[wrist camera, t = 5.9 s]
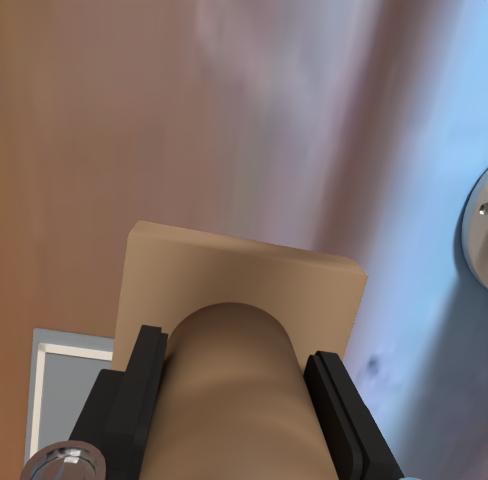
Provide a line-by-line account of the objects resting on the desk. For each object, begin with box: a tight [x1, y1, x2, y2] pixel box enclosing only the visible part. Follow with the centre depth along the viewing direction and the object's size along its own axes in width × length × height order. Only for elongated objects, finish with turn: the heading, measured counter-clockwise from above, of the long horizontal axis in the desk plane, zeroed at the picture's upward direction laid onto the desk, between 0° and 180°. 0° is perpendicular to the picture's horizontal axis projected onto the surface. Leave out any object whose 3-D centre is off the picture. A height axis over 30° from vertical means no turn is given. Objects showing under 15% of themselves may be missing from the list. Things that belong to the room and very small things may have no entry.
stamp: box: [111, 220, 368, 480], centre depth 10 cm, size 7×7×9 cm
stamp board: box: [24, 328, 114, 466], centre depth 31 cm, size 12×13×1 cm
